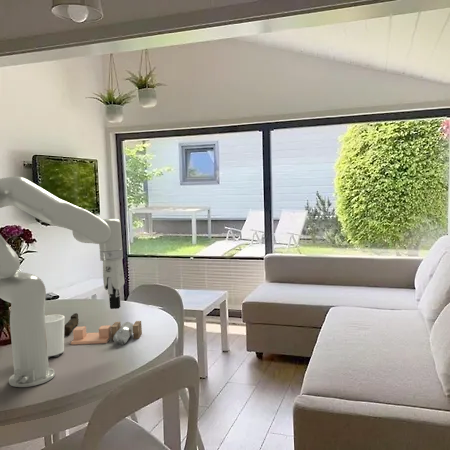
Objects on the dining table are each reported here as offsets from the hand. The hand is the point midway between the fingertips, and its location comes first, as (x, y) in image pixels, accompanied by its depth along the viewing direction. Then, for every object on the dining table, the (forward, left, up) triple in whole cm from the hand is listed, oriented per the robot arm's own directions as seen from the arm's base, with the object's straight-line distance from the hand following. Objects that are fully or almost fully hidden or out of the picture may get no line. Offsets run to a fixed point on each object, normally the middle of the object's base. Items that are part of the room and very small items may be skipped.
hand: (115, 308), depth 157 cm
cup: (-2, +22, -15) cm, 27 cm away
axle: (+11, 0, -15) cm, 19 cm away
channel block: (+14, 0, -15) cm, 21 cm away
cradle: (+13, +13, -15) cm, 23 cm away
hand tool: (+28, +26, -15) cm, 41 cm away
